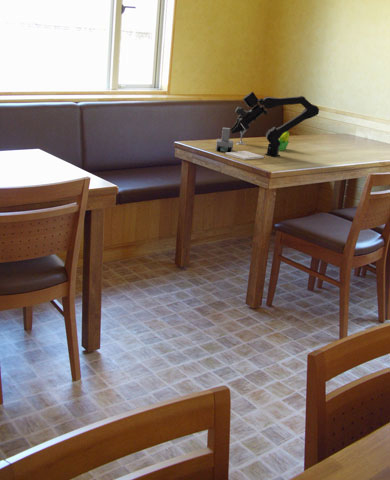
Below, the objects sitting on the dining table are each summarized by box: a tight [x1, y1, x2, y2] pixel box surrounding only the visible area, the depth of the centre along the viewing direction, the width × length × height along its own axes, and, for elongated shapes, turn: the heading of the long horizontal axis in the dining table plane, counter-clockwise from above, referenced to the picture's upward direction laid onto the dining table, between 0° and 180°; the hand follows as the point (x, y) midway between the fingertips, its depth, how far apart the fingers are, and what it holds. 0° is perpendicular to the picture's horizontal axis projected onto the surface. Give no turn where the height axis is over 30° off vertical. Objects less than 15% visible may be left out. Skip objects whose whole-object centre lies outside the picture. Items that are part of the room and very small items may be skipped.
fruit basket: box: [278, 131, 290, 152], centre depth 363 cm, size 11×9×11 cm
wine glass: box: [234, 117, 247, 146], centre depth 368 cm, size 8×8×15 cm
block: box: [219, 146, 229, 153], centre depth 343 cm, size 4×4×4 cm
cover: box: [215, 127, 234, 152], centre depth 341 cm, size 9×9×12 cm
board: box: [225, 150, 265, 161], centre depth 334 cm, size 16×14×1 cm
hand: (231, 131), depth 340 cm, fingers open, 9 cm apart
